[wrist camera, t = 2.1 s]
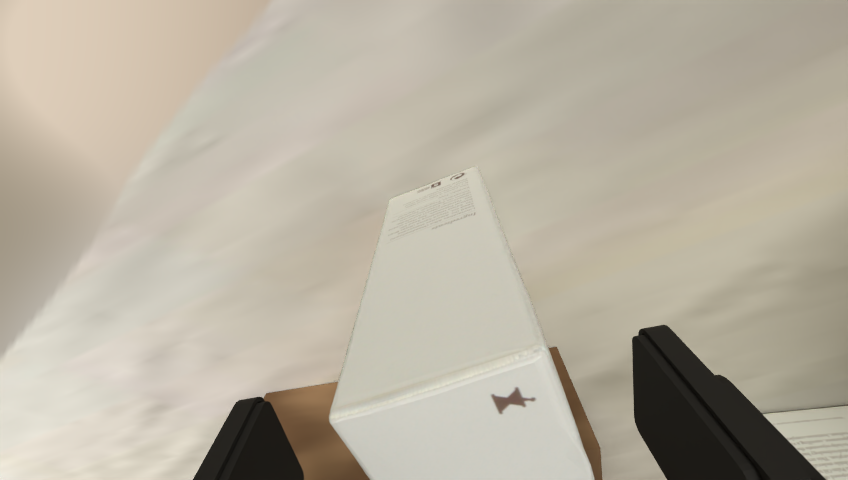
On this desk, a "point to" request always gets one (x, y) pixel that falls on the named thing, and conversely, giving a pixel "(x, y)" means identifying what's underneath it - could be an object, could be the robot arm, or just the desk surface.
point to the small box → (818, 437)
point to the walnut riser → (332, 460)
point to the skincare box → (452, 353)
